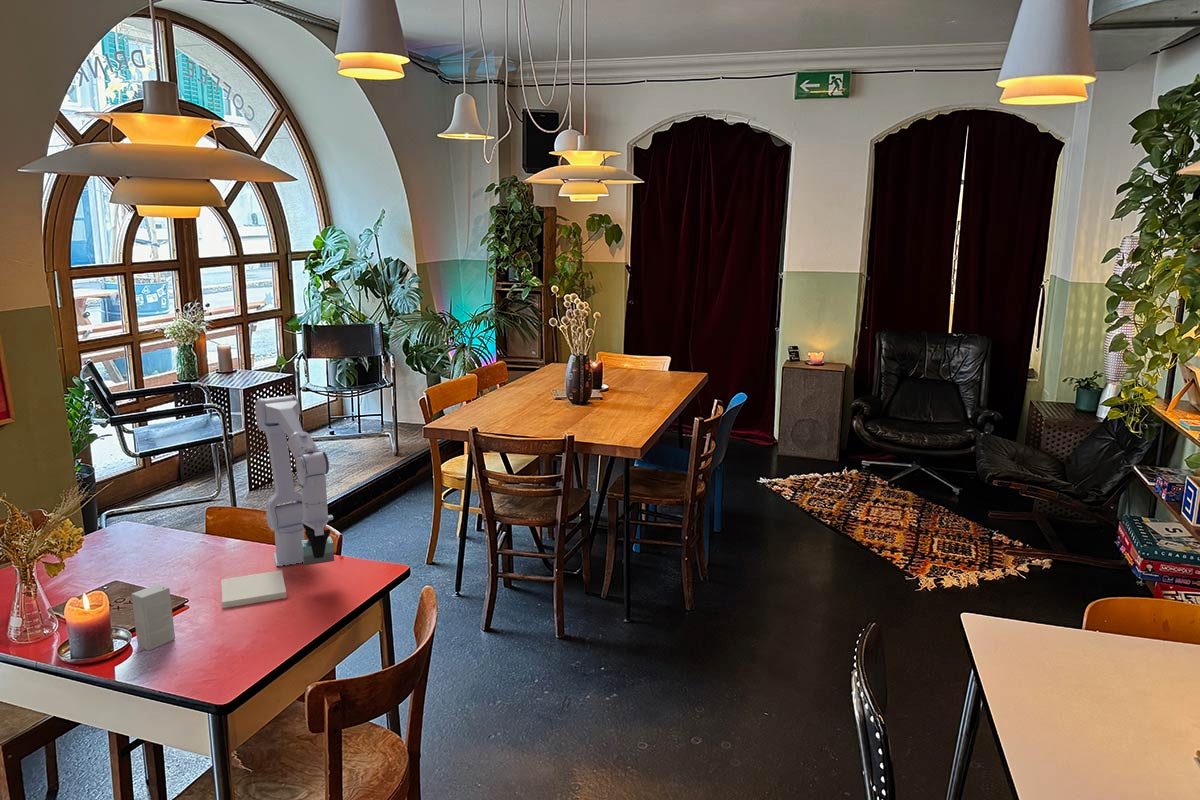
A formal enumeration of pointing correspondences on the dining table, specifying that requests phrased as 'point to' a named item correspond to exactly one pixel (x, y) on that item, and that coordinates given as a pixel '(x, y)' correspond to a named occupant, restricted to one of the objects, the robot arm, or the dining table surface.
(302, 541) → the block
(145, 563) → the dining table surface
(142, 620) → the skincare box
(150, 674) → the dining table surface
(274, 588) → the stand tile
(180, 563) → the dining table surface
